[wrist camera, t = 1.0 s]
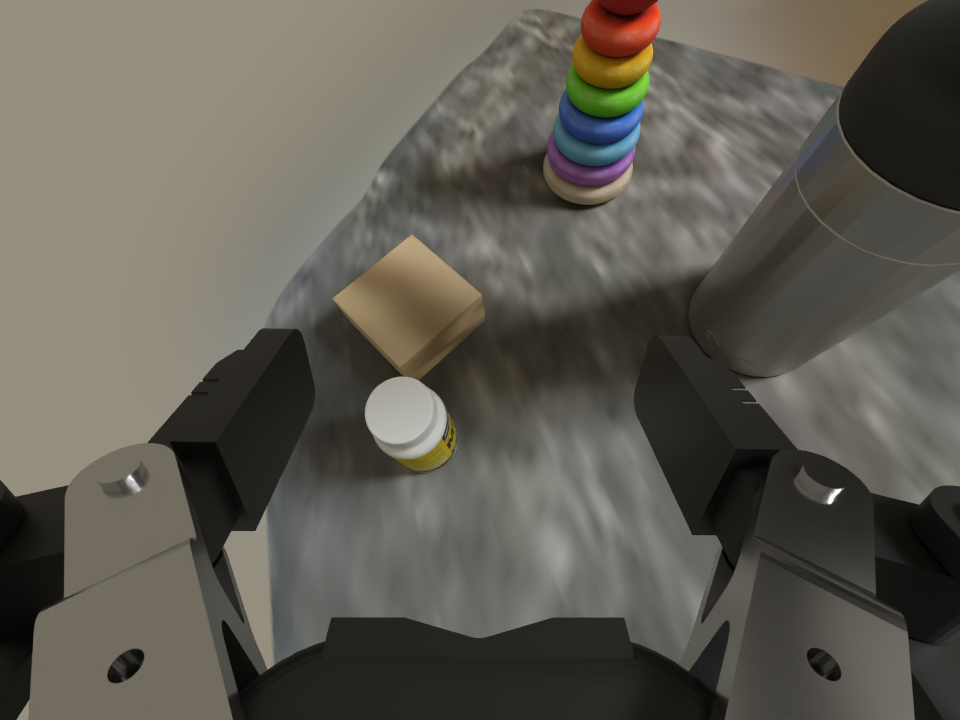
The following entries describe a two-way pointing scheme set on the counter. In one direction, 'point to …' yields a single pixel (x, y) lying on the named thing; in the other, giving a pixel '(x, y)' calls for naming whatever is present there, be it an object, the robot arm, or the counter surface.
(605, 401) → the counter surface
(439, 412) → the supplement bottle
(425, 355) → the oak block
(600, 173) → the stacking toy
